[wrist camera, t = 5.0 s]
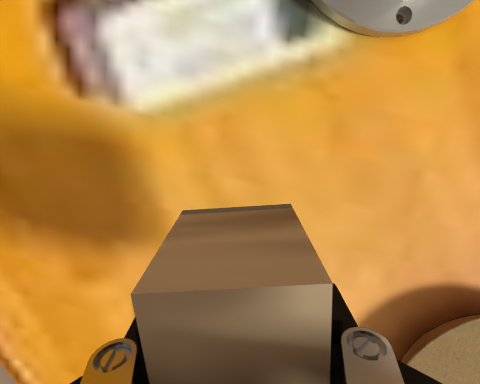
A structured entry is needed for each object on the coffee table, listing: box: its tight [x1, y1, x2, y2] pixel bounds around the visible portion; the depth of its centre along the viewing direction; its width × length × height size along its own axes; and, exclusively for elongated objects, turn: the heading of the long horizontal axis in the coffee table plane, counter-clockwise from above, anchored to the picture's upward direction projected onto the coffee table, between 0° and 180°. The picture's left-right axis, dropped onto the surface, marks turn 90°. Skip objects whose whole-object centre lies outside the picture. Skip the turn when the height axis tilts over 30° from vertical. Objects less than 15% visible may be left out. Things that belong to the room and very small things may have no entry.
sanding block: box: [131, 204, 333, 384], centre depth 10 cm, size 7×4×6 cm, turn 4°
